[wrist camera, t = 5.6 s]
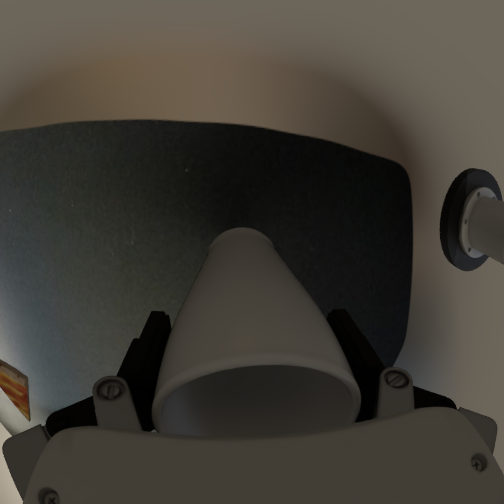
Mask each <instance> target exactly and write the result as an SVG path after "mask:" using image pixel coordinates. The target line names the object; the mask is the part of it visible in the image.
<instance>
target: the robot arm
mask: <svg viewBox="0 0 504 504" xmlns="http://www.w3.org/2000/svg"><path fill="white" fill-rule="evenodd" d="M459 241H460V245H461V248H462V249H463V251H464V252H465V253H466V254H467V255H468V256H470V257H473V258H478V257H480V256H482V255H484V254H485V255H487V256H489V257H491V258H493V259H495V260H496V261H498V262H500V263H502V264H504V202H503V201H500V200H497V198H496V195H495V194H494V192H493V191H492V190H491V189H489V188H487V187H477V188H475V189H474V190H473V191H472V192H471V193H470V194H469V196H468V197H467V199H466V201H465V203H464V205H463V208H462V211H461V215H460V220H459ZM327 321H328V323H329V325H330V326H331V328H332V330H333V332H334V334H335V336H336V338H337V340H338V342H339V343H340V346H341V348H342V350H343V352H344V354H345V356H346V358H347V361H348V363H349V365H350V368H351V370H352V372H353V375H354V377H355V380H356V382H357V384H358V386H359V389H360V392H361V408H360V412H359V415H358V417H357V419H356V421H355V422H358V423H353V424H349V425H344V426H338V427H333V428H327V429H320V430H313V431H306V432H297V433H288V434H277V435H262V436H229V437H223V436H191V435H177V434H166V433H156V432H150V431H152V430H153V429H154V430H156V429H155V427H154V424H153V421H152V416H151V409H152V404H153V400H154V394H155V388H156V383H157V378H158V374H159V369H160V365H161V361H162V357H163V353H164V350H165V347H166V343H167V340H168V337H169V335H170V332H171V324H170V317H169V315H165V312H164V311H152V312H151V313H150V316H149V318H148V320H147V322H146V324H145V326H144V329H143V331H142V333H141V335H140V338H139V339H138V338H135V339H133V341H132V342H131V345H130V347H129V349H128V351H127V353H126V356H125V358H124V360H123V362H122V364H121V367H120V369H119V371H118V374H117V376H106V377H103V378H101V379H99V380H98V381H97V382H96V383H95V384H94V386H93V396H91V397H89V398H87V399H84V400H82V401H80V402H77V403H75V404H73V405H70V406H68V407H65V408H63V409H61V410H58V411H56V412H54V413H52V414H51V415H50V416H49V417H48V419H47V420H46V425H44V426H41V424H39V425H37V426H35V427H33V428H30V429H28V430H26V431H24V432H22V433H19V434H17V435H15V436H12V437H10V438H8V439H7V440H6V441H5V442H4V444H3V447H2V450H3V455H4V458H5V460H6V463H7V465H8V468H9V471H10V473H11V476H12V478H13V481H14V483H15V485H16V487H17V490H18V492H19V494H20V496H21V498H22V500H23V504H504V475H503V473H502V471H501V469H500V468H499V465H498V464H497V462H496V460H495V458H494V457H493V451H494V446H495V441H496V435H497V424H496V422H495V421H494V420H493V419H492V418H490V417H487V416H484V415H481V414H478V413H475V412H472V411H470V410H467V409H464V408H462V407H460V408H459V409H457V408H456V405H455V403H454V402H453V401H452V400H451V399H449V398H447V397H445V396H442V395H439V394H436V393H433V392H430V391H427V390H424V389H421V388H418V387H415V386H413V380H412V377H411V375H410V374H409V373H408V372H407V371H406V370H403V369H401V368H397V367H390V368H385V366H384V365H383V363H382V362H381V360H380V358H379V357H378V355H377V354H376V352H375V351H374V349H373V348H372V346H371V345H370V343H369V342H368V340H367V339H366V337H365V336H364V335H363V334H362V333H361V331H360V330H359V328H358V327H357V325H356V324H355V322H354V321H353V320H352V318H351V317H350V315H349V314H348V312H347V311H346V310H345V309H333V310H332V312H331V313H328V316H327Z"/></svg>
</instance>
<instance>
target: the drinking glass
mask: <svg viewBox="0 0 504 504" xmlns="http://www.w3.org/2000/svg"><path fill="white" fill-rule="evenodd" d="M360 408H361V392H360V389H359V386H358V384H357V382H356V380H355V377H354V375H353V372H352V370H351V368H350V365H349V363H348V361H347V358H346V356H345V354H344V352H343V350H342V348H341V346H340V343H339V342H338V340H337V338H336V336H335V334H334V332H333V330H332V328H331V326H330V325H329V323H328V321H327V319H326V318H325V316H324V315H323V313H322V312H321V310H320V309H319V307H318V306H317V304H316V303H315V301H314V300H313V299H312V297H311V296H310V295H309V293H308V292H307V290H306V289H305V288H304V287H303V285H302V284H301V283H300V281H299V280H298V279H297V278H296V276H295V275H294V274H293V272H292V271H291V270H290V268H289V267H288V266H287V265H286V263H285V262H284V261H283V259H282V258H281V257H280V255H279V254H278V253H277V251H276V249H275V247H274V245H273V243H272V242H271V241H270V240H269V238H268V237H266V236H265V235H264V234H263V233H261V232H259V231H257V230H255V229H251V228H245V227H240V228H233V229H230V230H227V231H225V232H223V233H222V234H220V235H219V236H218V237H217V238H216V239H215V240H214V241H213V242H212V244H211V245H210V247H209V249H208V252H207V255H206V258H205V261H204V263H203V265H202V267H201V269H200V271H199V273H198V275H197V276H196V278H195V280H194V282H193V284H192V286H191V288H190V290H189V292H188V294H187V296H186V298H185V300H184V302H183V304H182V306H181V308H180V310H179V313H178V315H177V317H176V319H175V322H174V324H173V327H172V329H171V332H170V335H169V337H168V340H167V343H166V347H165V350H164V353H163V357H162V361H161V365H160V369H159V374H158V378H157V383H156V388H155V394H154V400H153V404H152V409H151V416H152V421H153V424H154V427H155V429H156V431H157V433H166V434H177V435H191V436H223V437H229V436H262V435H277V434H288V433H297V432H306V431H313V430H320V429H327V428H333V427H338V426H344V425H349V424H353V423H355V421H356V419H357V417H358V415H359V412H360Z"/></svg>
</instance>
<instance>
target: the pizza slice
mask: <svg viewBox="0 0 504 504" xmlns="http://www.w3.org/2000/svg"><path fill="white" fill-rule="evenodd" d="M0 387H1V388H2V390H3V391H4V392H5V394H6V395H7V396H8V397H9V399H10V400H11V401H12V402H13V403H14V405H15V406H16V407H17V408H18V409H19V411H20V412H21V413H22V414H23V415H24V416H25V417H26V418H27V420H28V421H29V422H30V420H31V419H30V409H29V396H28V378H27V377H26V376H25V375H23V374H22V373H20V372H19V371H17V370H16V369H14V368H13V367H11V366H9V365H8V364H6V363H4V362H3V361H1V360H0Z"/></svg>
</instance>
